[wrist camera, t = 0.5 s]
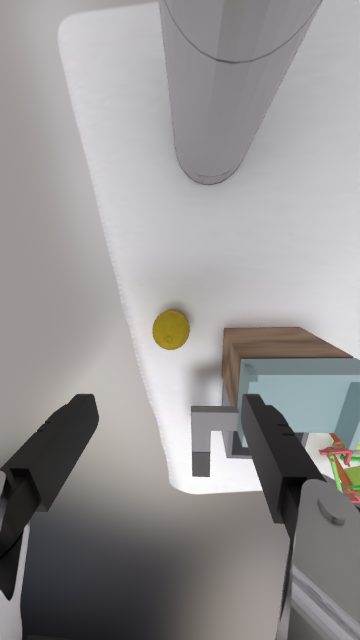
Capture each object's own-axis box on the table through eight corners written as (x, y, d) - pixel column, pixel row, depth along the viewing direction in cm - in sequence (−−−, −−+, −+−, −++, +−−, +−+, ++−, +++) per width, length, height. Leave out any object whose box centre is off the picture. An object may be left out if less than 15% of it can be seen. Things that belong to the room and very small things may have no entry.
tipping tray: (189, 359, 20) (190, 374, 17) (356, 358, 19) (386, 374, 16) (192, 467, 26) (192, 493, 23) (318, 472, 24) (336, 499, 22)
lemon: (167, 299, 28) (159, 312, 20) (195, 316, 28) (198, 334, 21) (152, 325, 29) (139, 346, 22) (179, 341, 30) (175, 366, 22)
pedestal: (223, 328, 29) (240, 357, 20) (299, 327, 28) (353, 356, 19) (221, 375, 32) (235, 420, 23) (290, 375, 31) (332, 421, 22)
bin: (223, 377, 32) (230, 401, 26) (293, 377, 31) (317, 402, 25) (220, 427, 36) (226, 458, 30) (283, 428, 35) (301, 460, 29)
